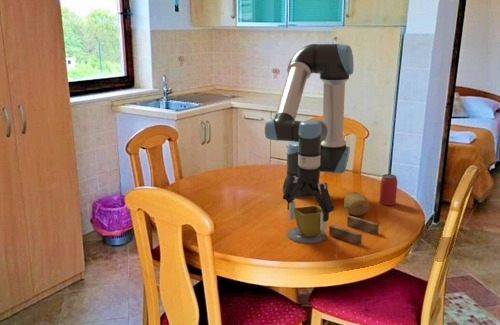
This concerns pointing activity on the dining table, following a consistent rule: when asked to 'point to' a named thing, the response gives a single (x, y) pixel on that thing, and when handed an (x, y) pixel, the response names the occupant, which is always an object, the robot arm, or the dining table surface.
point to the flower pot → (308, 220)
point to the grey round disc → (299, 237)
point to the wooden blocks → (351, 235)
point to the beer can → (388, 190)
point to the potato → (356, 203)
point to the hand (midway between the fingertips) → (307, 224)
